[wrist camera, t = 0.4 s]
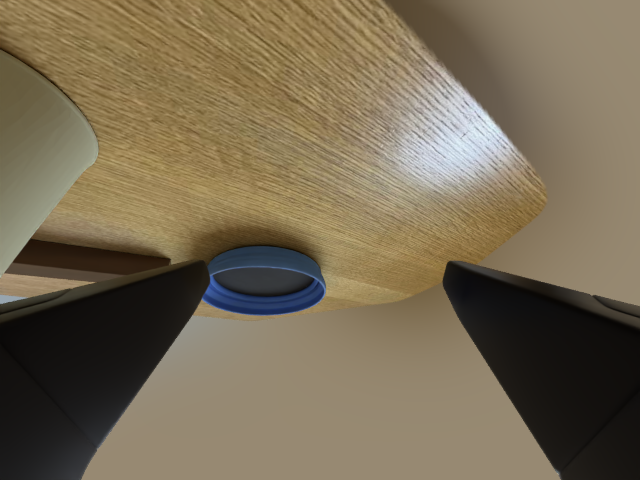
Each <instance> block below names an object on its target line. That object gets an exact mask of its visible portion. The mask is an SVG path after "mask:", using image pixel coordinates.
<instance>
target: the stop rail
mask: <svg viewBox="0 0 640 480" xmlns="http://www.w3.org/2000/svg"><path fill="white" fill-rule="evenodd" d="M169 265H171V259H165V258H158V257H151V256H144V255H137V254H130V253H122V252H115V251H108V250H101V249H94V248H87V247H80V246H73V245H66V244H59V243H52V242H45V241H38V240H30V239H29V241H28V242H27V243H26V245H25V246H24V247H23V249H22V250H21V251H20V253H19V254H18V255H17V256H16V258H15V259H14V260H13V262H12V263H11V264H10V266H9V267H8V268H7V270H6V271H5V272H4V273H8V274H18V275H28V276H38V277H48V278H58V279H68V280H78V281H88V282H101V281H105V280H109V279H114V278H118V277H122V276H126V275H130V274H135V273H139V272H143V271H147V270H152V269H156V268H160V267H164V266H169Z"/></svg>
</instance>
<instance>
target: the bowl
mask: <svg viewBox="0 0 640 480" xmlns="http://www.w3.org/2000/svg"><path fill="white" fill-rule="evenodd" d="M207 268H208V271H209V275H210V285H209V287H208V288H207V290H206V292H205V294H204V296H203V298H202V300H203V301H204V302H206V303H207V304H209V305H211V306H213V307H216V308H218V309H221V310H225V311H229V312H233V313H239V314H246V315H281V314H288V313H294V312H298V311H302V310H305V309H308V308H310V307H312V306H314V305H316V304H317V303H319V302H320V301H321V300H322V299H323V297H324V296H325V293H326V285H325V281H324V278H323V276H322V275H321V270H320V268H319V266H318V265H317V263H316V262H315V261H313V260H312V259H311V258H309V257H307V256H306V255H304V254H301V253H299V252H296V251H293V250H289V249H285V248H279V247H270V246H251V247H243V248H237V249H233V250H230V251H227V252H224V253H222V254H220V255H218V256H217V257H215V258H214V259H213V260H212V261H211V262H210V263H209V264H208V266H207Z"/></svg>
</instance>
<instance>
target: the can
mask: <svg viewBox="0 0 640 480" xmlns="http://www.w3.org/2000/svg"><path fill="white" fill-rule="evenodd" d="M98 148H99V147H98V141H97V138H96V135H95V133H94V131H93V129H92V127H91V125H90V123H89V122H88V121H87V119H86V118H85V116H84V115H83V114H82V112H81V111H80V110H79V109H78V108H77V107H76V105H75V104H74V103H73V102H72V101H71V100H70V99H69V98H68V97H67V96H66V95H65V94H64V93H63V92H61V91H60V90H59V89H58V88H57V87H56V86H55V85H53V84H52V83H51V82H50V81H48V80H47V79H46V78H45V77H43V76H42V75H40V74H39V73H38V72H36V71H35V70H33V69H32V68H30V67H29V66H27V65H26V64H24V63H23V62H21V61H20V60H18V59H16V58H14V57H13V56H11V55H9V54H8V53H6V52H4V51H2V50H0V278H1V276H2V275H3V274H4V272H5V271H6V270H7V268H8V267H9V266H10V264H11V263H12V262H13V260H14V259H15V258H16V256H17V255H18V254H19V253H20V251H21V250H22V249H23V247H24V246H25V245H26V243H27V242H28V241H29V239H30V238H31V237H32V235H33V234H34V233H35V232H36V230H37V229H38V228H39V227H40V225H41V224H42V223H43V221H44V220H45V219H46V218H47V216H48V215H49V214H50V213H51V211H52V210H53V209H54V208H55V206H56V205H57V204H58V202H59V201H60V200H61V199H62V197H63V196H64V195H65V194H66V192H67V191H68V190H69V189H70V187H71V186H72V185H73V184H74V182H75V181H76V180H77V179H78V178H79V177H80V175H81V174H82V173H83V172H84V171H85V170H86V169H87V168H89V167H90V166H91V165H92V164H93V163H94V162H95V161H96V159H97V156H98Z"/></svg>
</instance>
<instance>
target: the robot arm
mask: <svg viewBox="0 0 640 480" xmlns="http://www.w3.org/2000/svg"><path fill="white" fill-rule="evenodd" d="M209 285H210V275H209V271H208V268H207V264H206V262H205V261H204V260H190V261H186V262H181V263H177V264H173V265H169V266H164V267H160V268H156V269H152V270H147V271H143V272H139V273H135V274H130V275H126V276H122V277H118V278H114V279H109V280H105V281H101V282H97V283H92V284H88V285H84V286H80V287H75V288H73V289H70V288H69V289H65V290H61V291H57V292H52V293H48V294H44V295H39V296H35V297H30V298H26V299H22V300H17V301H13V302H8V303H4V304H0V480H81V479H82V476H83V474H84V472H85V470H86V468H87V466H88V464H89V463H90V461H91V459H92V457H93V456H94V455H95V453H96V452H97V449H98V448H99V447H100V446H101V444H102V443H103V442H104V440H105V439H106V437H107V436H108V434H109V433H110V432H111V430H112V429H113V427H114V426H115V425H116V423H117V422H118V420H119V419H120V417H121V416H122V414H123V413H124V412H125V410H126V409H127V407H128V406H129V405H130V403H131V402H132V400H133V399H134V398H135V396H136V395H137V393H138V392H139V390H140V389H141V388H142V386H143V384H144V383H145V382H146V381H147V379H148V378H149V376H150V375H151V373H152V372H153V371H154V369H155V368H156V366H157V365H158V363H159V362H160V361H161V359H162V358H163V356H164V355H165V353H166V352H167V351H168V349H169V348H170V346H171V345H172V344H173V342H174V341H175V339H176V338H177V336H178V335H179V334H180V332H181V331H182V329H183V328H184V326H185V325H186V324H187V322H188V321H189V319H190V318H191V316H192V315H193V313H194V312H195V310H196V308H197V307H198V305H199V303H200V301H201V299H202V298H203V296H204V294H205V292H206V290H207V288H208V287H209ZM443 287H444V289H445V291H446V294H447V295H448V298H449V300H450V302H451V304H452V306H453V308H454V310H455V312H456V314H457V316H458V318H459V320H460V321H461V323H462V325H463V326H464V328H465V329H466V331H467V332H468V334H469V336H470V337H471V339H472V340H473V342H474V344H475V345H476V347H477V348H478V350H479V351H480V353H481V355H482V356H483V358H484V359H485V360H486V362H487V364H488V366H489V367H490V369H491V370H492V372H493V373H494V375H495V376H496V378H497V380H498V381H499V383H500V384H501V386H502V387H503V389H504V391H505V392H506V394H507V395H508V397H509V399H510V400H511V401H512V403H513V405H514V406H515V408H516V409H517V411H518V413H519V414H520V416H521V417H522V419H523V421H524V422H525V424H526V425H527V427H528V428H529V430H530V432H531V433H532V434H533V436H534V438H535V439H536V441H537V443H538V444H539V446H540V447H541V449H542V450H543V452H544V453H545V455H546V457H547V458H548V460H549V461H550V463H551V464H552V466H553V468H554V469H555V471H556V472H557V473H558V474H559V477H560V479H561V480H640V306H636V305H632V304H628V303H624V302H620V301H616V300H612V299H609V298H605V297H601V296H597V295H593V296H591V295H590V294H587V293H583V292H579V291H575V290H571V289H568V288H564V287H560V286H556V285H552V284H548V283H544V282H541V281H537V280H533V279H529V278H525V277H521V276H517V275H513V274H509V273H506V272H501V271H498V270H494V269H490V268H486V267H482V266H478V265H474V264H471V263H467V262H463V261H449V262H448V263H447V265H446V269H445V273H444V277H443Z"/></svg>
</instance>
